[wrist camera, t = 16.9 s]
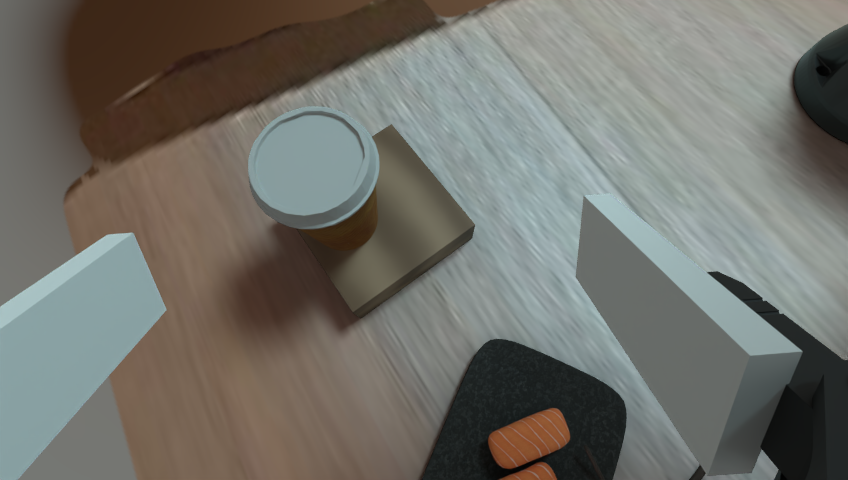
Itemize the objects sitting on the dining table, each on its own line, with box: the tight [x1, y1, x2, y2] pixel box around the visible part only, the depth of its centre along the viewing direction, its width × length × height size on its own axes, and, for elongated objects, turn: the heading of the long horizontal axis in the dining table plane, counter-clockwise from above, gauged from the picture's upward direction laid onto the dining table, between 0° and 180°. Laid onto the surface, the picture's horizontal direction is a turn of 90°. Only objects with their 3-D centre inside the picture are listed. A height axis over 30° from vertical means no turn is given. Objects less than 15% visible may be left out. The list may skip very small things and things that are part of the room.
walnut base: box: [296, 124, 475, 318], centre depth 43 cm, size 14×14×4 cm
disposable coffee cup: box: [248, 106, 379, 251], centre depth 35 cm, size 10×10×12 cm
